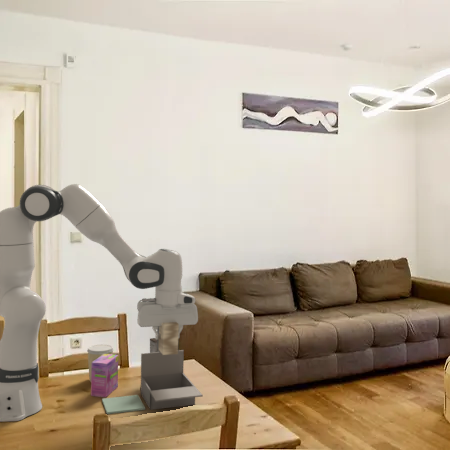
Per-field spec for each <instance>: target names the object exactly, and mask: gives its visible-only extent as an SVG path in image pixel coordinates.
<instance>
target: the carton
mask: <svg viewBox="0 0 450 450" xmlns="http://www.w3.org/2000/svg"><path fill="white" fill-rule="evenodd" d="M184 351H185V350H184V349H181V350H180V349H179V351H178V354H171V355H163V354H162V353H161V352H155V353H150V352H146V353H140V395H141V396H142V399H143V400H144V402H145V403H146V406H147V407H148V408H149V411H152V410H159V409H160V410H161V409H165V408H166V409H167V408H175V407H176V408H177V407H185V406H193V405H196V398H202V397H203V394H202V393H201V392H200V390H199V389H198V388H197V386H195V384H194V383H193V382H192V381H191V380H190V379H189V378H188V376H187V375H186V374H185V373H184V361H185V359H184V354H185V353H184Z"/></svg>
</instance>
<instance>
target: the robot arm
mask: <svg viewBox="0 0 450 450" xmlns="http://www.w3.org/2000/svg"><path fill="white" fill-rule="evenodd" d="M58 215H61V216H63V217H65V219H67V220H68V221H69V222H70V223H71V224H72V225H73V226H74V228H75V229H77V230H78V231H79V232H80V233H81V234H82V235H83V236H84V237H85V238H87V239H89V240H90V241H92V242H93V243H97V244H99V245H100V246H103V248H105V249H106V250H107V251H108V252H109V253H110V254H111V255H112V256H113V257H114V258H115V260H117V261H118V262H119V264H120V265H121V266H122V268H123V272H124V275H125V277H126V279H127V280H128V281H129V283H131V285H132V286H134V287H135V288H137V289H141V290H146V289H151V288H152V289H153V288H155V292H154V293H155V294H154V296H155V297H152V298H151V297H150V298H145V297H144V298H142V299H140V300H139V301H138V302H137V306H136V307H137V309H136V310H137V312H138V313H137V324H138V326H139V327H140V328H152V330H153V332H154V335H155V336H154V338H156V340H158V339H161V334H160V333H157V329H158V326H162V323H169V322H177V323H178V324H179V328H178V339H180V334H181V332H182V330H183V328H184V326H188V325H190V326H191V325H196V324H197V323H198V321H199V314H198V307H197V305H196V304H195V303H196V297H195V296H194V295H192V294H188V293H187V292H183V286H182V278H183V259H182V255H181V254H180V253H179V252H178V251H176V250H172V249H167V248H160V249H158V250H157V251H156V252H154V253H152V254H151V255H148V256H144V255H142V254H139V253H138V252H137V251H135V250H134V249H133V248H132V247H131V246H130V244H129V243H127V241H125V239H124V238H123V237H122V236H121V235H120V233H119V231H118V229H117V227H116V224H115V221H114V219H113V217H112V216H111V214H110V212H109V211H108V210H107V209H106V207H105V206H104V204H102V203H101V202H100V201H99V200H98V198H96V196H94V195H93V194H92V193H91V192H90V191H89V190H87V189H86V188H85V187H83V186H82V185H80V184H77V183H73V184H69V185H66V186H65V187H64V188H62V189H61V190H59V191H57V190H55V189H53V188H52V187H50V186H49V185H45V184H36V185H32V186H29V187H28V188H27V189H26V190H25V191H23V193H22V195H21V196H20V199H19V204H18V206H14V207H8V208H5V209H3V210H1V211H0V317H2V318H4V319H3V320H4V327H3V333H2V336H1V338H0V422H17V421H21V420H23V419H26V417H29V416H32V415H34V414H36V413H38V412H39V411H41V410H42V408H43V404H42V400H41V397H40V392H39V391H40V390H39V377H40V375H39V374H40V372H39V371H40V367H39V362H38V336H39V331H40V327H41V326H40V325H41V324H42V323H41V321H43V319H44V317H45V315H46V311H47V309H46V308H47V307H46V304H45V301H44V299H43V298H42V297H41V296H40V295H39V293H37V292H36V291H33V290H32V289H31V283H32V275H33V271H34V269H35V265H36V264H35V263H36V262H35V249H34V248H35V246H34V233H33V231H34V226H35V224H36V222H45V221H47V220H50V219H51V218H53V217H56V216H58Z"/></svg>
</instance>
